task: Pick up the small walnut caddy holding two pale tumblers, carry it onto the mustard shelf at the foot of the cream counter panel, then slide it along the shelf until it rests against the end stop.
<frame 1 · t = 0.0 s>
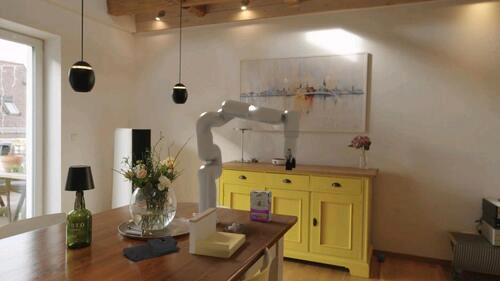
hand: (290, 169, 179), 31 cm above the table, tool pointing down, fingers open, 9 cm apart
caddy: (233, 235, 172), on the table
candy bar box: (260, 220, 199), on the table
dark slate chunk: (151, 252, 149), on the table
counter shelf: (217, 246, 155), on the table
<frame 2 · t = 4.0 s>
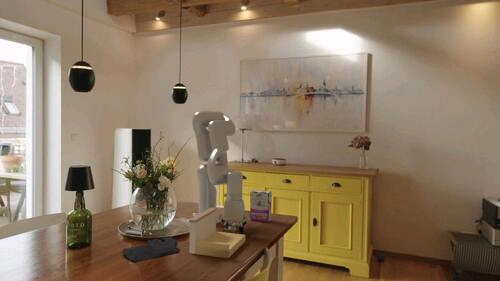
hand: (234, 233, 172), 1 cm above the table, tool pointing down, fingers closed on caddy, 6 cm apart
caddy: (234, 235, 172), on the table, touching gripper
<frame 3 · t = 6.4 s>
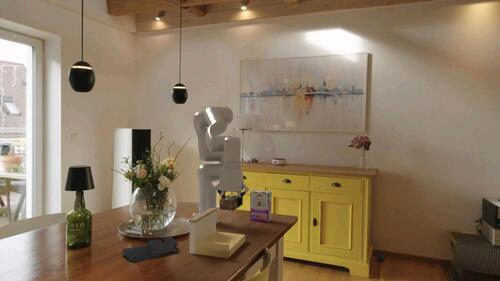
hand: (231, 205, 158), 18 cm above the table, tool pointing down, fingers closed on caddy, 6 cm apart
caddy: (231, 206, 158), point 17 cm above the table, touching gripper
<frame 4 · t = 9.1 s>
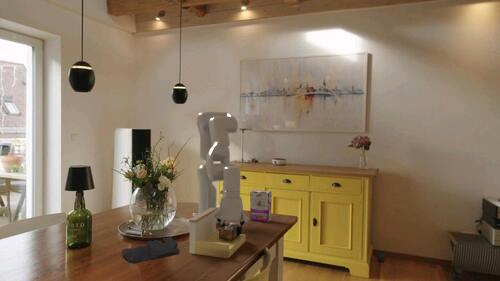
hand: (231, 234, 158), 5 cm above the table, tool pointing down, fingers closed on caddy, 6 cm apart
caddy: (231, 235, 158), point 4 cm above the table, touching gripper
when the fingers open (5 cm above the table, at t = 9.2 s): caddy drops 1 cm, resting on counter shelf.
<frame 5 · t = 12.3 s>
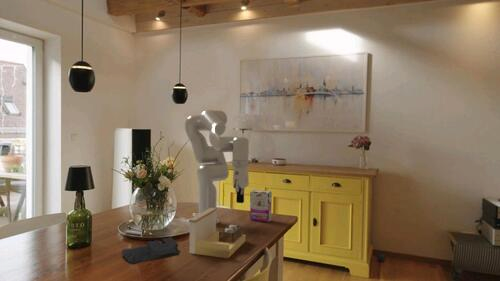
hand: (240, 202, 168), 17 cm above the table, tool pointing down, fingers closed
caddy: (231, 237, 158), point 3 cm above the table, touching counter shelf
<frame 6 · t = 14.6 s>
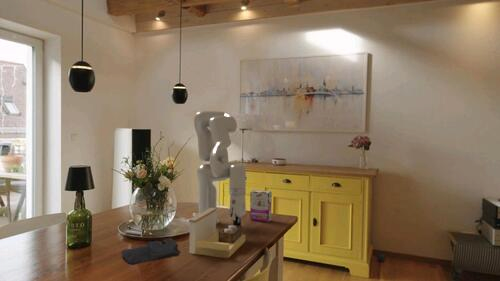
hand: (237, 230, 165), 4 cm above the table, tool pointing down, fingers closed
caddy: (230, 238, 158), point 3 cm above the table, touching gripper
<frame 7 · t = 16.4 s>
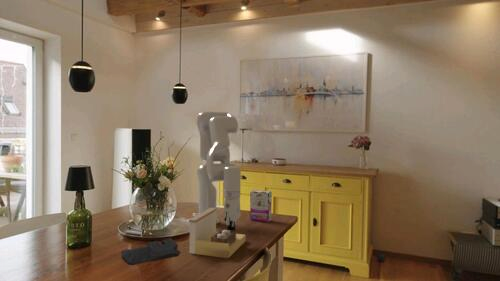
hand: (231, 235, 158), 4 cm above the table, tool pointing down, fingers closed
caddy: (223, 243, 150), point 3 cm above the table, touching counter shelf, gripper
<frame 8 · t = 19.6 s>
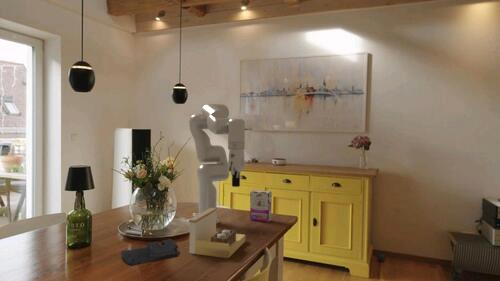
hand: (235, 186, 162), 25 cm above the table, tool pointing down, fingers closed
caddy: (223, 243, 150), point 3 cm above the table, touching counter shelf
at the end: caddy inside the target area (0.6 cm from its centre), point 3.0 cm above the table; caddy tilted 0°; the gripper is holding nothing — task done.
